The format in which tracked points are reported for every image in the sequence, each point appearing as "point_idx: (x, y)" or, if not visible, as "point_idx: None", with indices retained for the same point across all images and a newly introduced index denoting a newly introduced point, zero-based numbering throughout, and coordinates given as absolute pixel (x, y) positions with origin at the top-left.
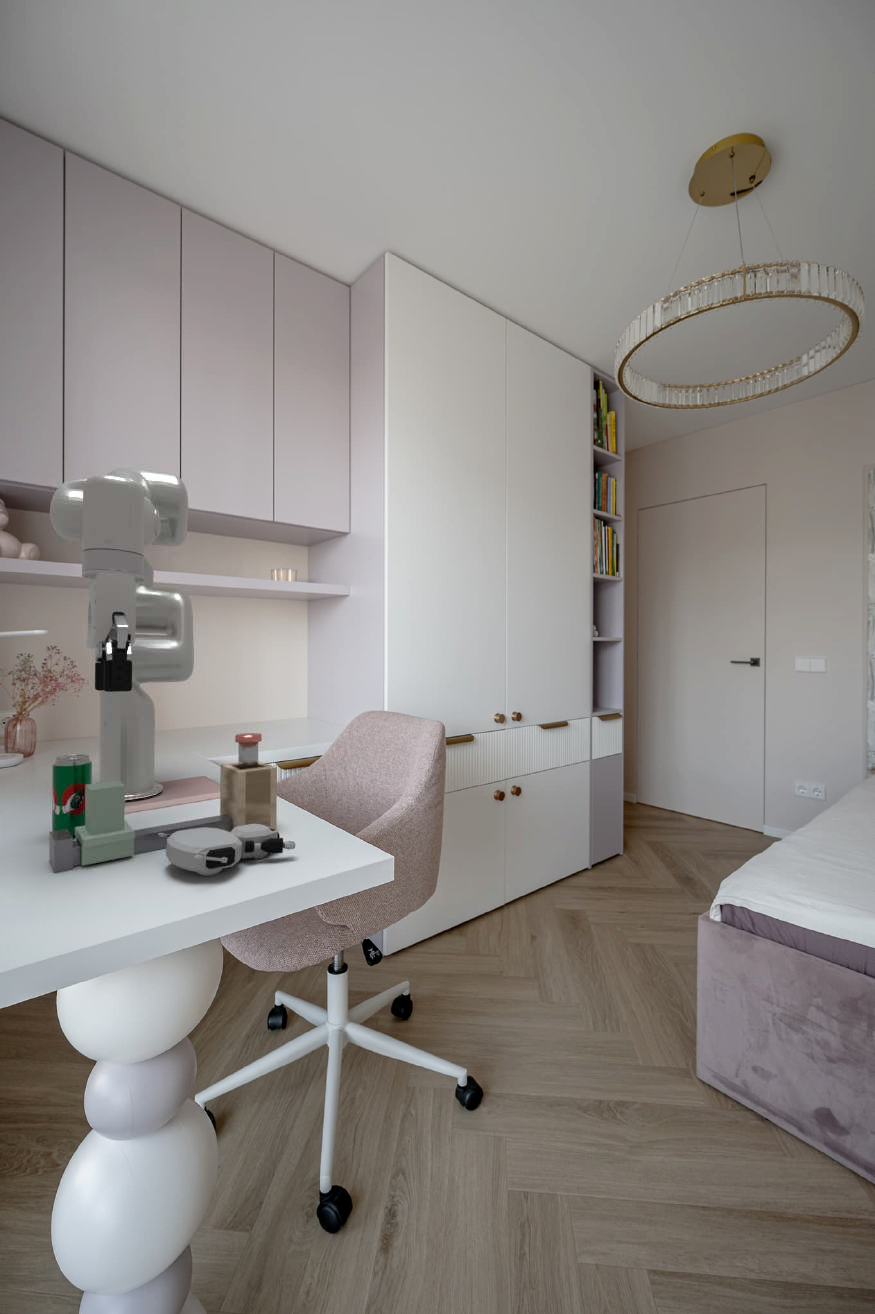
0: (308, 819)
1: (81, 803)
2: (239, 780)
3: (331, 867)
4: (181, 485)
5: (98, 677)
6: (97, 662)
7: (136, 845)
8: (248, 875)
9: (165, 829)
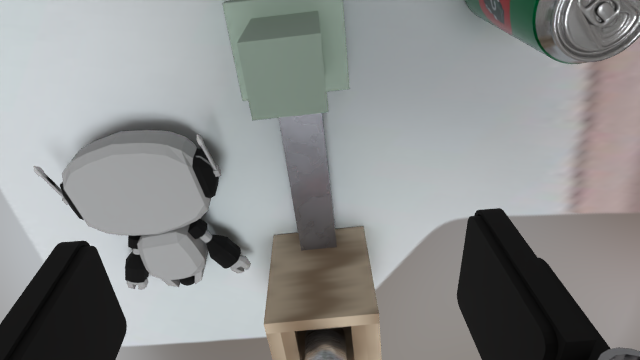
0: None
1: (489, 11)
2: (266, 311)
3: None
4: None
5: (497, 269)
6: (602, 354)
7: None
8: None
9: (291, 149)
